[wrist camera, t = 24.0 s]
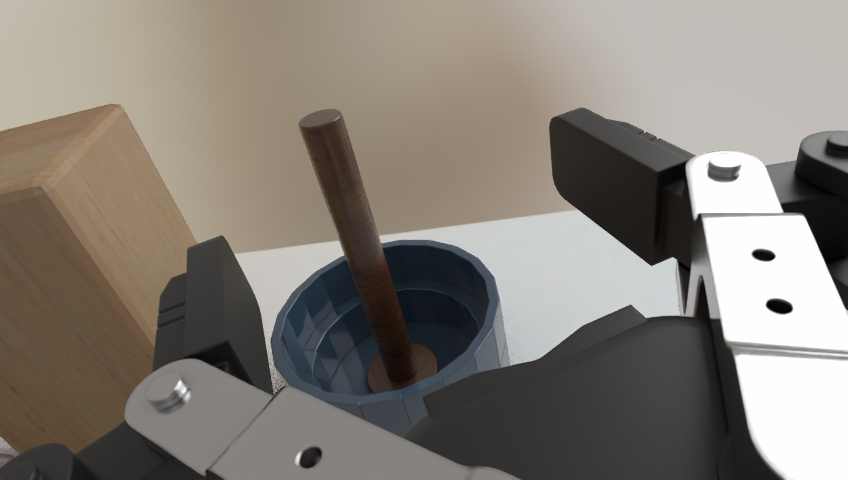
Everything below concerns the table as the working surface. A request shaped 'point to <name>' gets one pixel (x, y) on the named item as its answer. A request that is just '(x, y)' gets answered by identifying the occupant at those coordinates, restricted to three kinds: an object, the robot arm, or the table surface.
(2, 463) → the seashell
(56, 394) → the wooden block
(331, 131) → the stirring stick
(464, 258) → the bowl
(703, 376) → the robot arm
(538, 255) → the table surface
